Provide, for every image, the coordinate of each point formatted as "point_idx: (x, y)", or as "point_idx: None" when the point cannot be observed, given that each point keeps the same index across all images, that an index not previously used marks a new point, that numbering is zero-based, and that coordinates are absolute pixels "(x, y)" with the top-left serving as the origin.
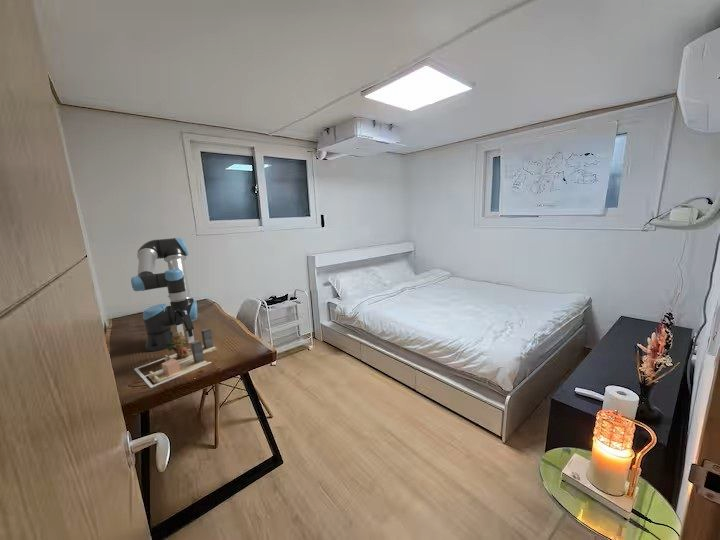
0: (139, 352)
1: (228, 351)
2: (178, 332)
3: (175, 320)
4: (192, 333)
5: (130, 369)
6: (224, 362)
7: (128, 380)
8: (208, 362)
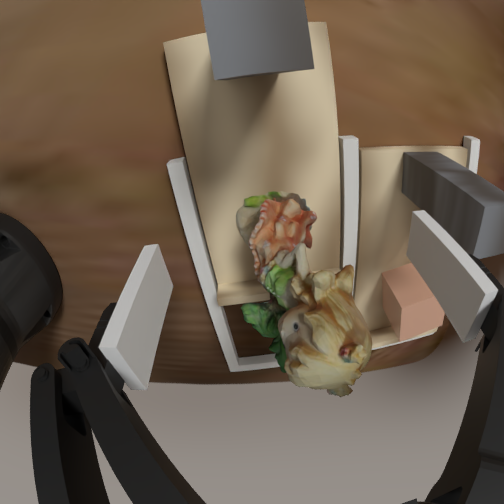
0: (51, 333)
1: (404, 2)
2: (329, 370)
3: (88, 435)
4: (489, 271)
5: (201, 369)
6: (494, 94)
7: None
8: (471, 150)
